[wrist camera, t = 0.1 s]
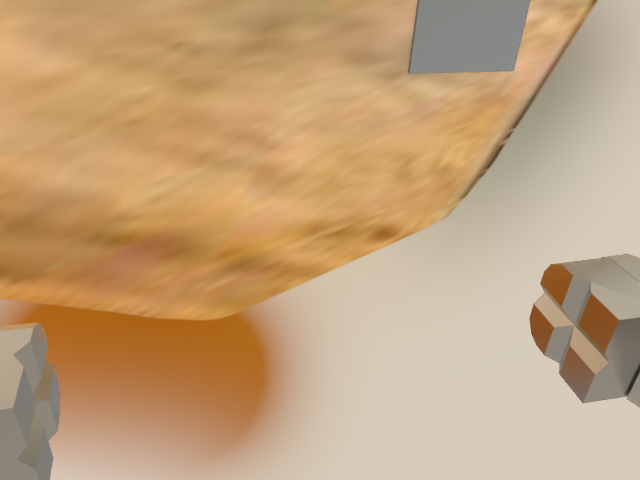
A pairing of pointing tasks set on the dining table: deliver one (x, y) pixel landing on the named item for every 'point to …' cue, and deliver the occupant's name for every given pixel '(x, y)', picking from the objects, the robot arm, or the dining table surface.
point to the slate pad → (467, 35)
